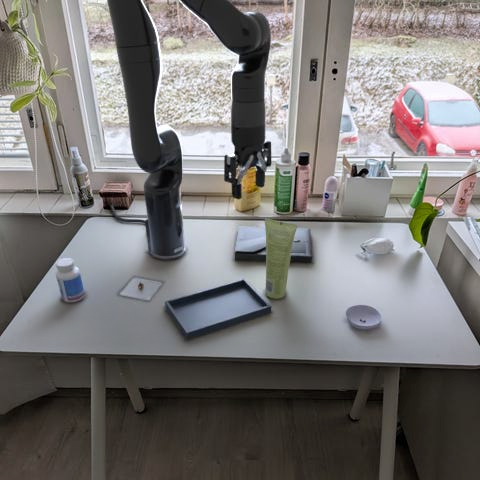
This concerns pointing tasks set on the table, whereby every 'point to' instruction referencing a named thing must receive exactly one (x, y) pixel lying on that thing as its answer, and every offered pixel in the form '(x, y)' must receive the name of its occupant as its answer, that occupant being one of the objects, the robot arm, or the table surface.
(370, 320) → the small lavender dish
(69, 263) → the pill bottle
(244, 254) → the picture frame
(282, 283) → the tube
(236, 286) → the tray
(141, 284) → the square paper sheet
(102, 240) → the table surface
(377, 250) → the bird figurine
